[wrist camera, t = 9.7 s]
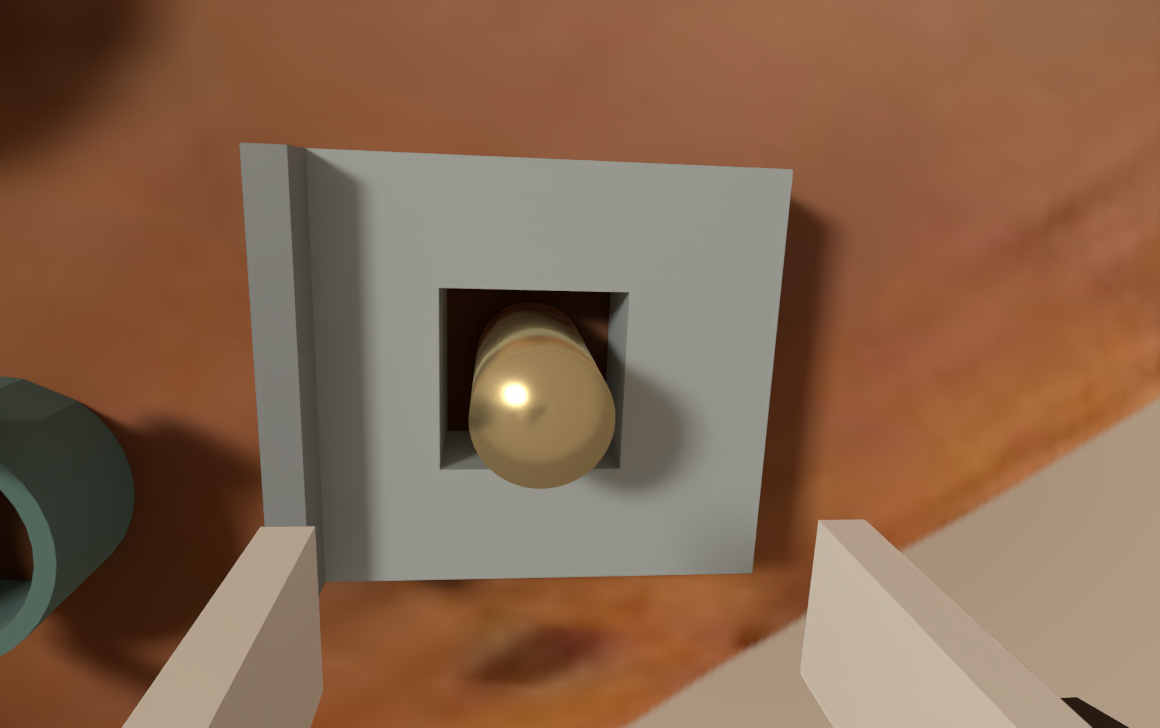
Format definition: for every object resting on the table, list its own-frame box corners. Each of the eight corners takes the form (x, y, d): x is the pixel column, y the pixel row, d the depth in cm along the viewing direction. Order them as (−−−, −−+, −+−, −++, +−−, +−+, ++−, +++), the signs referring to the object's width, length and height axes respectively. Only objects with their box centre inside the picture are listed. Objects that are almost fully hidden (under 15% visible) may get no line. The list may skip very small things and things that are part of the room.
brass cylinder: (477, 406, 28) (469, 490, 20) (475, 301, 27) (467, 348, 20) (581, 404, 29) (613, 487, 21) (584, 302, 28) (617, 348, 20)
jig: (316, 528, 29) (270, 616, 23) (298, 151, 25) (239, 142, 20) (719, 523, 30) (772, 603, 25) (751, 171, 27) (820, 168, 21)
